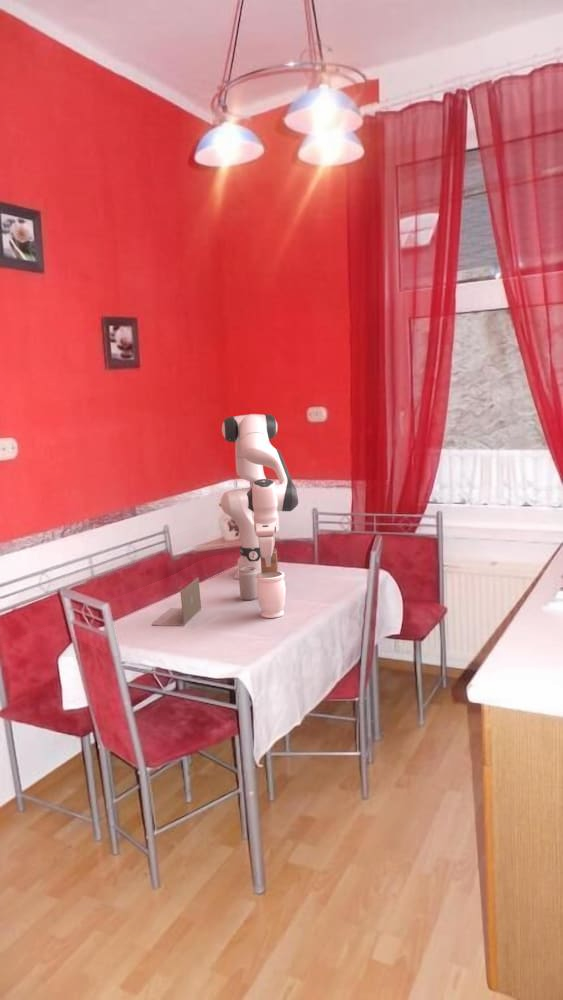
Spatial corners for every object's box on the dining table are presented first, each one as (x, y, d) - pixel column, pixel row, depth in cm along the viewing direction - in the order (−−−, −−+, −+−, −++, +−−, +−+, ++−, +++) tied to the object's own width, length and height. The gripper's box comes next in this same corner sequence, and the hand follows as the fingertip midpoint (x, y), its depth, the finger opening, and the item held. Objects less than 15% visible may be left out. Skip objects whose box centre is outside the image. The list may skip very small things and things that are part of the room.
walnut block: (262, 568, 257) (261, 549, 256) (277, 567, 257) (276, 548, 255) (261, 572, 252) (260, 553, 250) (277, 572, 251) (275, 552, 250)
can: (257, 601, 274) (255, 570, 272) (238, 601, 275) (236, 571, 273) (261, 595, 281) (259, 565, 279) (243, 595, 282) (241, 565, 280)
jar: (284, 619, 251) (281, 578, 248) (255, 619, 253) (252, 578, 250) (289, 609, 261) (286, 570, 258) (261, 610, 263) (258, 570, 260)
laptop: (170, 609, 271) (167, 576, 268) (201, 610, 268) (199, 576, 265) (151, 626, 253) (147, 591, 251) (184, 627, 250) (181, 591, 248)
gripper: (260, 520, 262) (262, 557, 264) (255, 532, 242) (258, 572, 244) (277, 519, 261) (279, 556, 264) (274, 531, 241) (276, 571, 244)
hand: (269, 563), depth 254 cm, fingers closed on walnut block, 5 cm apart
